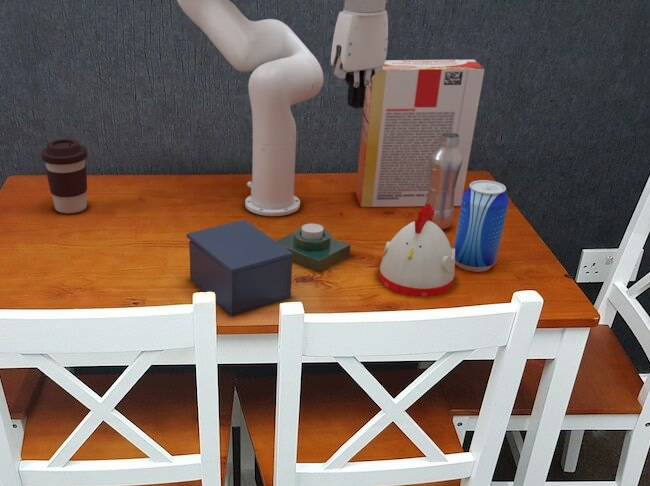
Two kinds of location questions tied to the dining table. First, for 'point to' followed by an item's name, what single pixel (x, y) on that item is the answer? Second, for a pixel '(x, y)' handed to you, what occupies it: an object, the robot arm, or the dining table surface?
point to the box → (241, 282)
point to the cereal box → (414, 127)
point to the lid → (239, 246)
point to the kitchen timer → (419, 259)
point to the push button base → (315, 250)
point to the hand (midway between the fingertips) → (355, 106)
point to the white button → (312, 231)
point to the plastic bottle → (444, 179)
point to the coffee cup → (66, 174)
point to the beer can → (480, 225)
